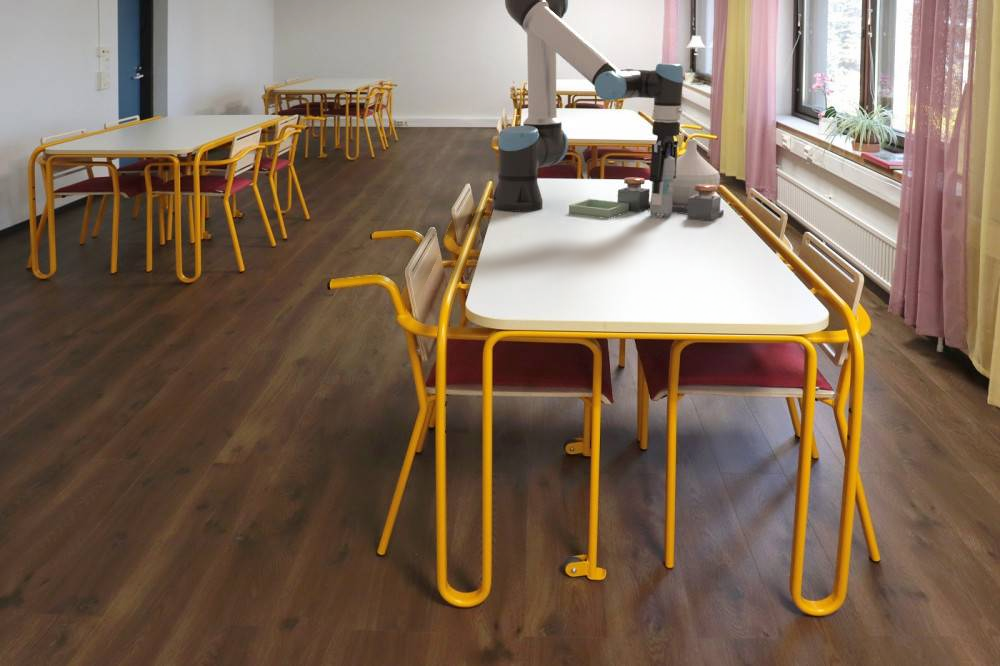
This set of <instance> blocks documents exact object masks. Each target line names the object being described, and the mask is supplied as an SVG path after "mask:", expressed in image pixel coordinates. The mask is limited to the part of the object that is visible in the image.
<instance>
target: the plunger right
mask: <svg viewBox="0 0 1000 666" xmlns="http://www.w3.org/2000/svg"><path fill="white" fill-rule="evenodd" d="M695 190H696V191H698V198H704V199H712V192H715V193H716V191H717V189H716V186H715V185H708V184H698V185H695Z"/></svg>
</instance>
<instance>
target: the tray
mask: <svg viewBox="0 0 1000 666" xmlns="http://www.w3.org/2000/svg"><path fill="white" fill-rule="evenodd" d="M626 212H627V213H628V212H629V203H622V202H618V201H614V200H613V201H611V200H604V199H603V200H602V199H597V198H596V199H595V198H593V199H592V198H587V199H584V200H581V201H578V202H576V203H572V204H569V205H568V214H569V215H576V216H584V217H585V216H586V217H591V216H593V217H594V218H599V217H602V218H601V219H608V218H610V219H612V218H611V217H613V218H615V217H614V216H616V217H618V216H620V215H619V214H621V215H623V213H624V214H627V213H626ZM617 215H618V216H617ZM593 217H592V218H593Z"/></svg>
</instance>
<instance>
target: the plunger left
mask: <svg viewBox="0 0 1000 666" xmlns="http://www.w3.org/2000/svg"><path fill="white" fill-rule="evenodd" d="M645 181H646V180H645V178H643V177H624V179H623V183H624V184H626V187H627V190H629V191H641V188H642V185H644V184H645Z"/></svg>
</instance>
